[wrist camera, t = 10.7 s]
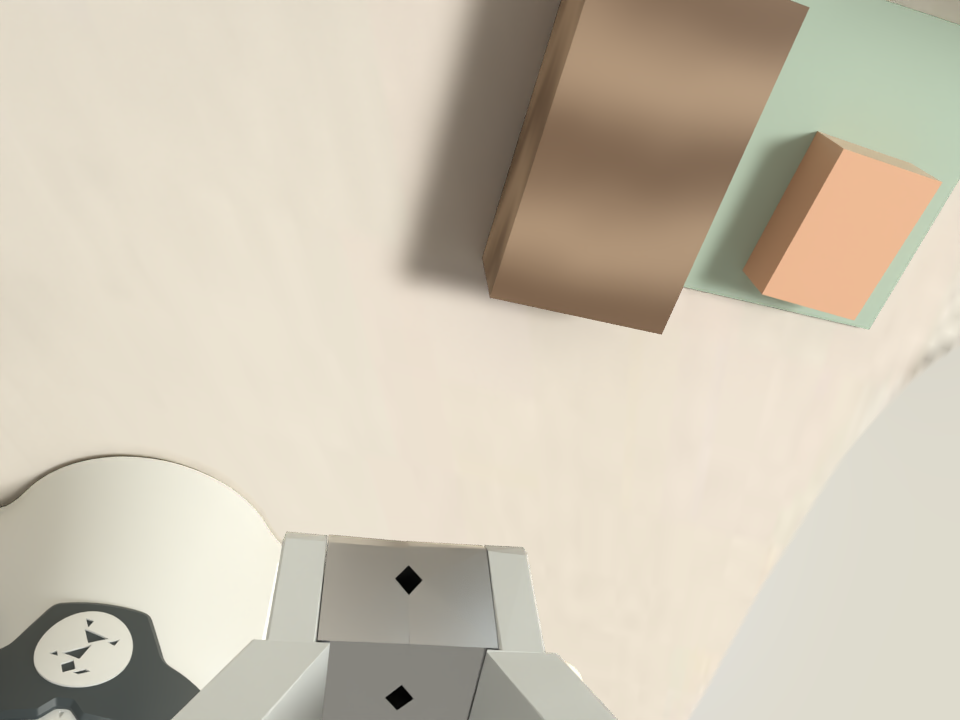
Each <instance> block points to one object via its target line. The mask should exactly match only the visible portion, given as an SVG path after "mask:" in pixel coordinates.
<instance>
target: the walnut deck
mask: <svg viewBox="0 0 960 720" xmlns="http://www.w3.org/2000/svg"><path fill="white" fill-rule="evenodd" d="M809 8H810V7H807V6H805V5H802V4H799V3H797V2H794V1H791V0H561V2H560V6H559V9H558V12H557V15H556V19H555V22H554V25H553V29H552V32H551V35H550V38H549V42H548V45H547V48H546V51H545V55H544V58H543V61H542V64H541V68H540V71H539V74H538V77H537V81H536V84H535V87H534V90H533V94H532V97H531V100H530V103H529V107H528V110H527V113H526V116H525V120H524V123H523V126H522V130H521V133H520V136H519V139H518V143H517V146H516V149H515V152H514V156H513V159H512V162H511V165H510V169H509V172H508V175H507V178H506V182H505V185H504V188H503V191H502V195H501V198H500V201H499V204H498V208H497V211H496V214H495V218H494V221H493V224H492V227H491V231H490V234H489V237H488V240H487V244H486V247H485V250H484V253H483V257H482V260H483V265H484V270H485V275H486V280H487V285H488V290H489V295H490V298H495V299H499V300H504V301H508V302H513V303H518V304H522V305H527V306H532V307H536V308H541V309H546V310H550V311H555V312H560V313H564V314H569V315H574V316H578V317H583V318H588V319H592V320H597V321H601V322H606V323H611V324H615V325H620V326H625V327H629V328H634V329H639V330H643V331H648V332H653V333H657V334H662V332H663V330H664V328H665V326H666V324H667V321H668V319H669V317H670V315H671V313H672V310H673V308H674V306H675V304H676V302H677V299H678V297H679V295H680V293H681V291H682V288H683V286H684V284H685V282H686V280H687V277H688V275H689V273H690V271H691V268H692V266H693V264H694V262H695V260H696V257H697V255H698V253H699V251H700V249H701V246H702V244H703V242H704V240H705V238H706V235H707V233H708V231H709V229H710V227H711V224H712V222H713V220H714V218H715V216H716V213H717V211H718V209H719V207H720V204H721V202H722V200H723V198H724V196H725V193H726V191H727V189H728V187H729V185H730V182H731V180H732V178H733V176H734V174H735V171H736V169H737V167H738V165H739V163H740V160H741V158H742V156H743V154H744V151H745V149H746V147H747V145H748V143H749V140H750V138H751V136H752V134H753V132H754V129H755V127H756V125H757V123H758V121H759V118H760V116H761V114H762V112H763V110H764V107H765V105H766V103H767V101H768V99H769V96H770V94H771V92H772V90H773V87H774V85H775V83H776V81H777V79H778V76H779V74H780V72H781V70H782V68H783V65H784V63H785V61H786V59H787V57H788V54H789V52H790V50H791V48H792V46H793V43H794V41H795V39H796V37H797V35H798V32H799V30H800V28H801V26H802V23H803V21H804V19H805V17H806V15H807V12H808V10H809Z"/></svg>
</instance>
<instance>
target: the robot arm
mask: <svg viewBox="0 0 960 720" xmlns="http://www.w3.org/2000/svg"><path fill="white" fill-rule="evenodd" d="M326 547H327V552H326ZM325 558H326V561H325ZM0 720H618V719H617V718H616V717H615V716H614V715H613V714H612V712H611V711H610V710H609V709H608V708H607V707H606V706H605V705H604V704H603V703H602V702H601V700H600V699H599V698H598V697H597V696H596V695H595V694H594V693H593V692H592V691H591V690H590V688H589V687H588V686H587V685H586V684H585V683H584V682H583V681H582V680H581V679H580V678H579V676H578V675H577V674H576V673H575V672H574V671H573V670H572V669H571V668H570V667H569V666H568V665H567V663H566V662H565V661H564V660H563V659H562V658H561V657H560V656H559V655H558V654H557V653H547V652H545V647H544V642H543V636H542V631H541V625H540V620H539V615H538V609H537V604H536V598H535V593H534V587H533V582H532V577H531V571H530V566H529V560H528V555H527V552H526V551H525V549H524V548H523V547H509V546H491V545H485V546H482V545H469V544H452V543H434V542H416V541H396V540H385V539H374V538H363V537H351V536H340V535H329V536H328V544H327V535H318V534H308V533H298V532H286V534H285V537H284V539H283V543H282V544H280V543H279V541H278V540H277V539H276V538H275V537H274V535H273V534H272V533H271V531H270V529H269V528H268V526H267V525H266V523H265V522H264V520H263V519H262V517H261V516H260V515H259V513H258V512H257V511H256V510H255V509H254V508H253V506H252V505H250V504H249V503H248V502H247V501H246V500H245V499H244V498H243V497H242V496H241V495H239V494H238V493H237V492H235V491H234V490H233V489H231V488H230V487H228V486H227V485H225V484H224V483H222V482H220V481H218V480H216V479H215V478H213V477H211V476H209V475H206V474H204V473H202V472H200V471H197V470H195V469H192V468H189V467H186V466H183V465H179V464H176V463H172V462H168V461H163V460H157V459H151V458H142V457H106V458H97V459H91V460H86V461H82V462H78V463H74V464H71V465H68V466H65V467H63V468H60V469H58V470H56V471H54V472H52V473H50V474H48V475H46V476H45V477H43V478H42V479H40V480H38V481H37V482H36V483H35V484H33V485H32V486H31V487H30V488H29V489H28V490H27V491H25V492H24V493H23V494H22V495H21V496H20V497H19V498H18V499H16V500H15V501H14V502H12V503H11V504H9V505H7V506H5V507H1V508H0Z"/></svg>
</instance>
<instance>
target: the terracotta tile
mask: <svg viewBox="0 0 960 720" xmlns="http://www.w3.org/2000/svg"><path fill="white" fill-rule="evenodd" d="M941 184H942V182H941V181H940V180H938V179H936V178H935V177H933V176H931V175H930V174H928V173H926V172H925V171H923V170H921V169H920V168H918V167H916V166H915V165H913V164H912V163H909V162H906V161H903V160H900V159H897V158H894V157H891V156H888V155H886V154H883V153H880V152H877V151H874V150H871V149H868V148H865V147H862V146H859V145H857V144H854V143H851V142H848V141H845V140H842V139H839V138H836V137H833V136H830V135H827V134H825V133H822V132H819V131H817V133H816V135H815V137H814V139H813V140H812V142H811V144H810V146H809V148H808V150H807V152H806V153H805V155H804V157H803V159H802V161H801V163H800V165H799V166H798V168H797V170H796V172H795V174H794V176H793V177H792V179H791V181H790V183H789V185H788V187H787V189H786V190H785V192H784V194H783V196H782V198H781V200H780V202H779V203H778V205H777V207H776V209H775V211H774V213H773V215H772V216H771V218H770V220H769V222H768V224H767V226H766V227H765V229H764V231H763V233H762V235H761V237H760V239H759V240H758V242H757V244H756V246H755V248H754V250H753V252H752V253H751V255H750V257H749V259H748V261H747V263H746V265H745V266H744V268H743V270H742V271H743V272H744V273H745V274H746V275H747V277H748V278H749V279H750V280H751V282H752V283H753V284H754V285H755V286H756V288H757V289H758V290H759V291H760V293H761V294H762V295H766V296H769V297H773V298H776V299H780V300H784V301H787V302H791V303H794V304H798V305H801V306H805V307H808V308H812V309H815V310H819V311H822V312H826V313H829V314H833V315H836V316H840V317H843V318H847V319H851V320H855V319H856V317H857V316H858V314H859V313H860V311H861V309H862V308H863V306H864V305H865V303H866V302H867V300H868V298H869V297H870V295H871V294H872V292H873V291H874V289H875V287H876V286H877V284H878V283H879V281H880V280H881V278H882V276H883V275H884V273H885V272H886V270H887V269H888V267H889V266H890V264H891V262H892V261H893V259H894V258H895V256H896V255H897V253H898V251H899V250H900V248H901V247H902V245H903V244H904V242H905V240H906V239H907V237H908V236H909V234H910V233H911V231H912V229H913V228H914V226H915V225H916V223H917V222H918V220H919V218H920V217H921V215H922V214H923V212H924V211H925V209H926V208H927V206H928V204H929V203H930V201H931V200H932V198H933V197H934V195H935V193H936V192H937V190H938V189H939V187H940V186H941Z"/></svg>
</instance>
